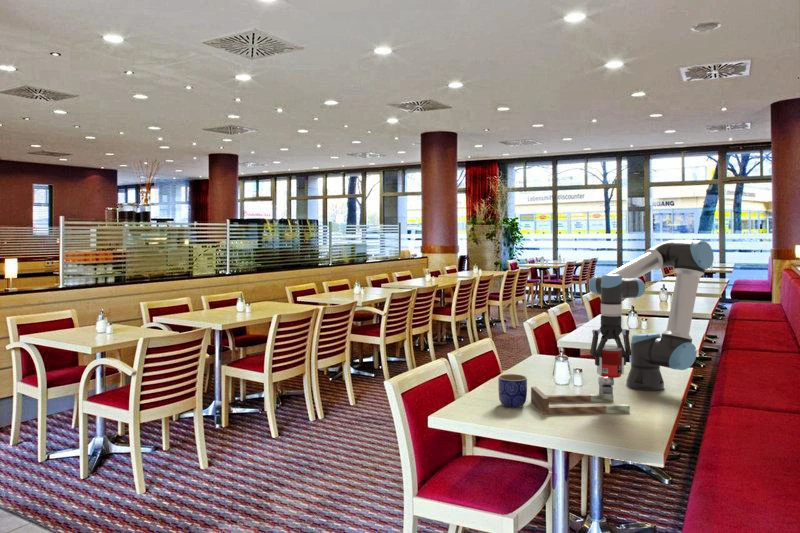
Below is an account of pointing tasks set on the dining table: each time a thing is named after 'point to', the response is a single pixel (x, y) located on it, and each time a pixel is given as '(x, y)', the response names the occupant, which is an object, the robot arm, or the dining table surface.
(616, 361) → the canned food
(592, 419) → the dining table surface
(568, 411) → the bay
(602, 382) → the winch
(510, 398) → the planter
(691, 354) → the robot arm
